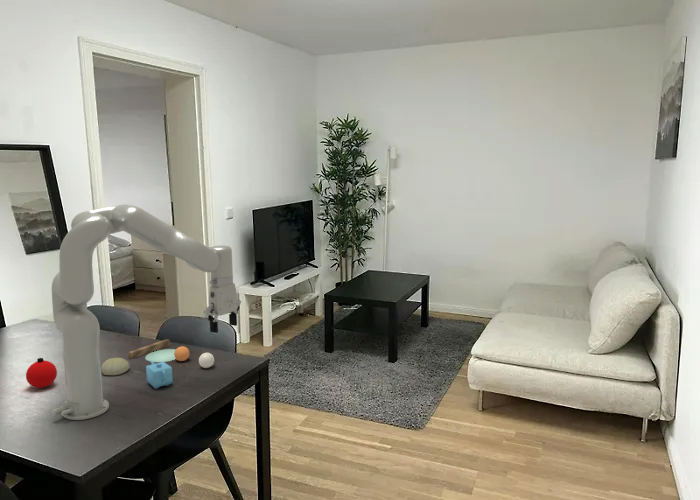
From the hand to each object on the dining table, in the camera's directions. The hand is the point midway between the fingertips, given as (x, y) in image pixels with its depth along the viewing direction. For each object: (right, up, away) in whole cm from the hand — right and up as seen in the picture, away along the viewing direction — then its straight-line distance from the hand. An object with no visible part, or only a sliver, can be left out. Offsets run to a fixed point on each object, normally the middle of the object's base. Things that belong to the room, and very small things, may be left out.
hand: (223, 328), depth 187 cm
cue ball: (-8, -13, +7) cm, 17 cm away
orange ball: (-19, -12, +14) cm, 26 cm away
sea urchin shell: (-40, -16, +3) cm, 43 cm away
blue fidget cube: (-20, -18, -7) cm, 28 cm away
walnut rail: (-35, -13, +23) cm, 44 cm away
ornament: (-58, -18, -10) cm, 62 cm away
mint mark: (-28, -13, +19) cm, 36 cm away
